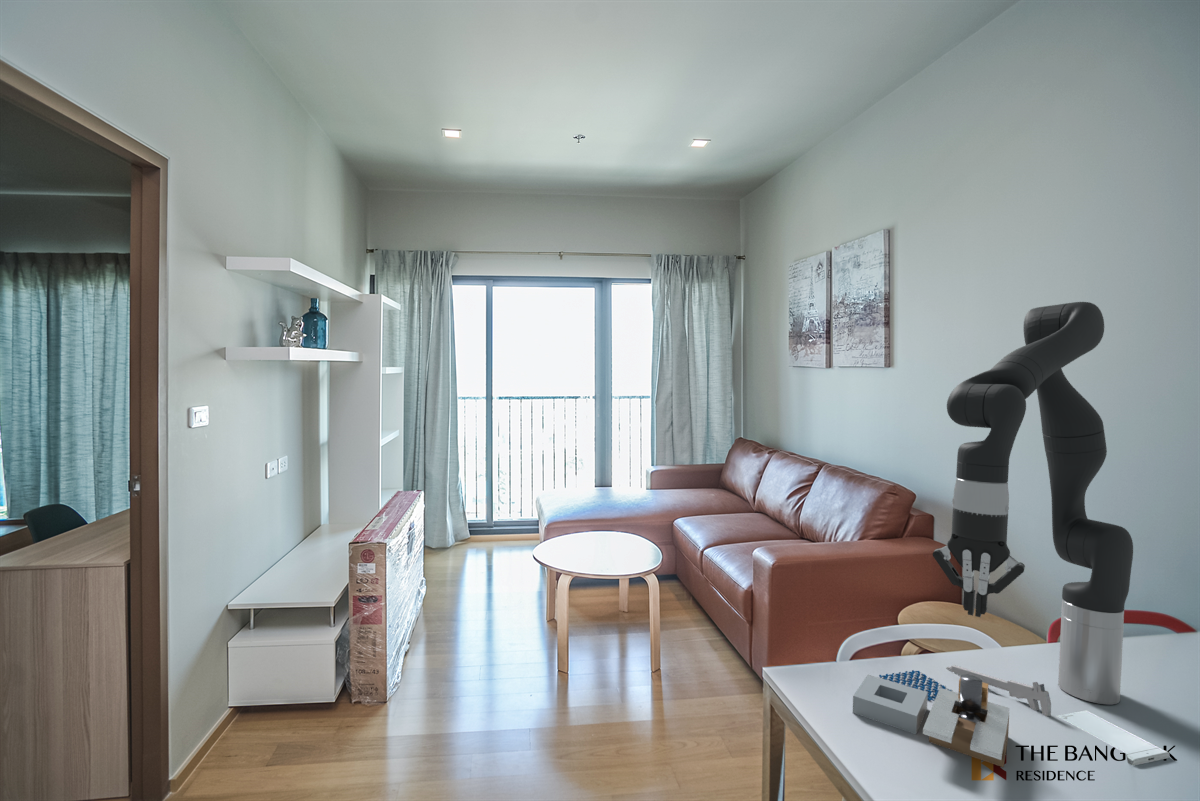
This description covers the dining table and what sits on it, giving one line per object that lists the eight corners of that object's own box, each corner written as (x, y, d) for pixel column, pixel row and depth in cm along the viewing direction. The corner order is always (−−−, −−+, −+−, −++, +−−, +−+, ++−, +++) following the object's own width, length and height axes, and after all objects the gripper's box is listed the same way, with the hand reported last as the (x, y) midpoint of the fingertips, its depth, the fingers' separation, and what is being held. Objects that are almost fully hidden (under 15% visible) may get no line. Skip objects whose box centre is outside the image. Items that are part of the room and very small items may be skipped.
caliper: (1050, 722, 105) (1052, 687, 105) (1046, 723, 105) (1048, 688, 104) (949, 669, 124) (950, 639, 124) (945, 669, 124) (946, 639, 124)
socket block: (938, 720, 104) (939, 692, 104) (1007, 742, 98) (1009, 712, 98) (928, 747, 96) (929, 717, 96) (1003, 773, 90) (1004, 741, 90)
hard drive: (1052, 715, 105) (1133, 758, 93) (1087, 709, 107) (1170, 750, 95) (1052, 725, 105) (1132, 769, 93) (1087, 718, 107) (1169, 761, 95)
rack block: (867, 695, 112) (867, 674, 112) (926, 714, 106) (927, 692, 106) (852, 718, 104) (853, 695, 104) (916, 740, 98) (916, 716, 98)
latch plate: (939, 692, 104) (940, 670, 104) (1009, 712, 98) (1010, 689, 98) (922, 733, 91) (923, 709, 91) (1001, 760, 85) (1002, 734, 85)
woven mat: (916, 677, 121) (916, 667, 121) (961, 704, 111) (962, 694, 111) (873, 683, 118) (874, 673, 118) (916, 712, 108) (916, 701, 108)
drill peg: (959, 731, 99) (961, 672, 99) (980, 738, 98) (983, 678, 97) (956, 739, 97) (959, 679, 97) (978, 747, 95) (981, 685, 95)
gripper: (1032, 511, 95) (1026, 619, 95) (937, 499, 103) (932, 598, 104) (1029, 518, 89) (1023, 633, 89) (929, 504, 97) (923, 610, 98)
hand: (974, 614), depth 96 cm, fingers closed
